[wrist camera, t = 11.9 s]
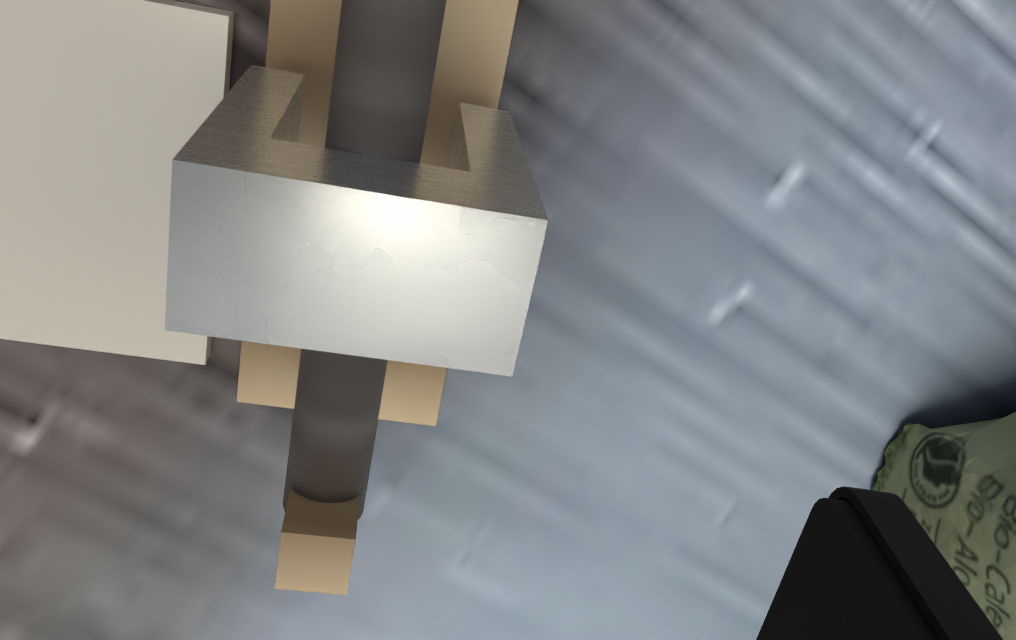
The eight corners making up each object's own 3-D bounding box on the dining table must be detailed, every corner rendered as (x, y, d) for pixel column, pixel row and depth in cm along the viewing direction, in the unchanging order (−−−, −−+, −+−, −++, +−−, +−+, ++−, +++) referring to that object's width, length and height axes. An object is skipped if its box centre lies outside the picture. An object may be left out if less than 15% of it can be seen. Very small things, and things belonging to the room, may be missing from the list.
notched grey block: (241, 189, 22) (164, 330, 16) (251, 64, 21) (172, 159, 14) (485, 228, 23) (512, 376, 17) (509, 111, 22) (547, 220, 15)
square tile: (-152, 304, 26) (-168, 317, 26) (-195, -70, 22) (-216, -67, 21) (210, 351, 28) (205, 364, 27) (234, 11, 24) (228, 16, 23)
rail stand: (435, 408, 29) (441, 647, 20) (242, 384, 28) (160, 623, 20) (559, -235, 22) (656, -302, 13) (302, -298, 21) (214, -416, 12)
